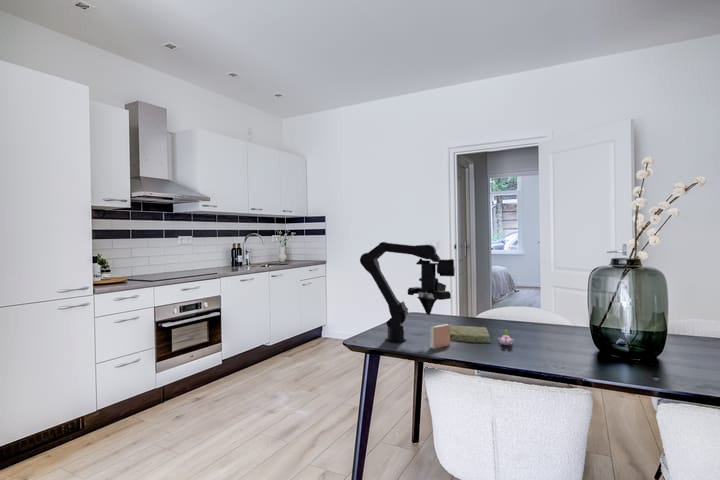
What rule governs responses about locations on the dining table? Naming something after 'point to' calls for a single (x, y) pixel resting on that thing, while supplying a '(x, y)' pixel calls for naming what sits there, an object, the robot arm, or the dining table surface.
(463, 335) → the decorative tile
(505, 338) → the pink bulbous piece
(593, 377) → the dining table surface
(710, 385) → the dining table surface
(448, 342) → the standing tile
